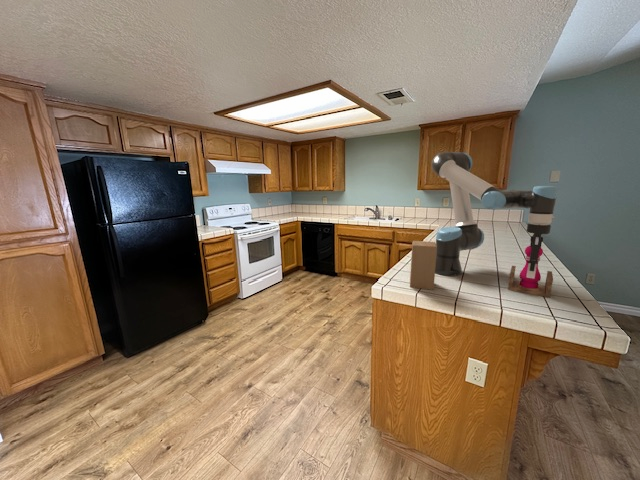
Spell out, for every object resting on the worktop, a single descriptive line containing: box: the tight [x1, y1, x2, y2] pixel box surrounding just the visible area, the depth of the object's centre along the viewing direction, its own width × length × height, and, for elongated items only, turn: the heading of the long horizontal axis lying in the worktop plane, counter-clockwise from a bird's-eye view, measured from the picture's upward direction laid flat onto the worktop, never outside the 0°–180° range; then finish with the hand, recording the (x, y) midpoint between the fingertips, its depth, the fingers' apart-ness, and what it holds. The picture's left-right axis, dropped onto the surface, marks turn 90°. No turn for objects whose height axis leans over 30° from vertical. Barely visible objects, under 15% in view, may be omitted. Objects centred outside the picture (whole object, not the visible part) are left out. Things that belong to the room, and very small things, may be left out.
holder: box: [507, 265, 554, 298], centre depth 113 cm, size 14×11×8 cm
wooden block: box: [409, 240, 437, 291], centre depth 118 cm, size 10×10×20 cm
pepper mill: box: [519, 245, 544, 289], centre depth 111 cm, size 7×7×20 cm
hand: (530, 274), depth 112 cm, fingers open, 8 cm apart
